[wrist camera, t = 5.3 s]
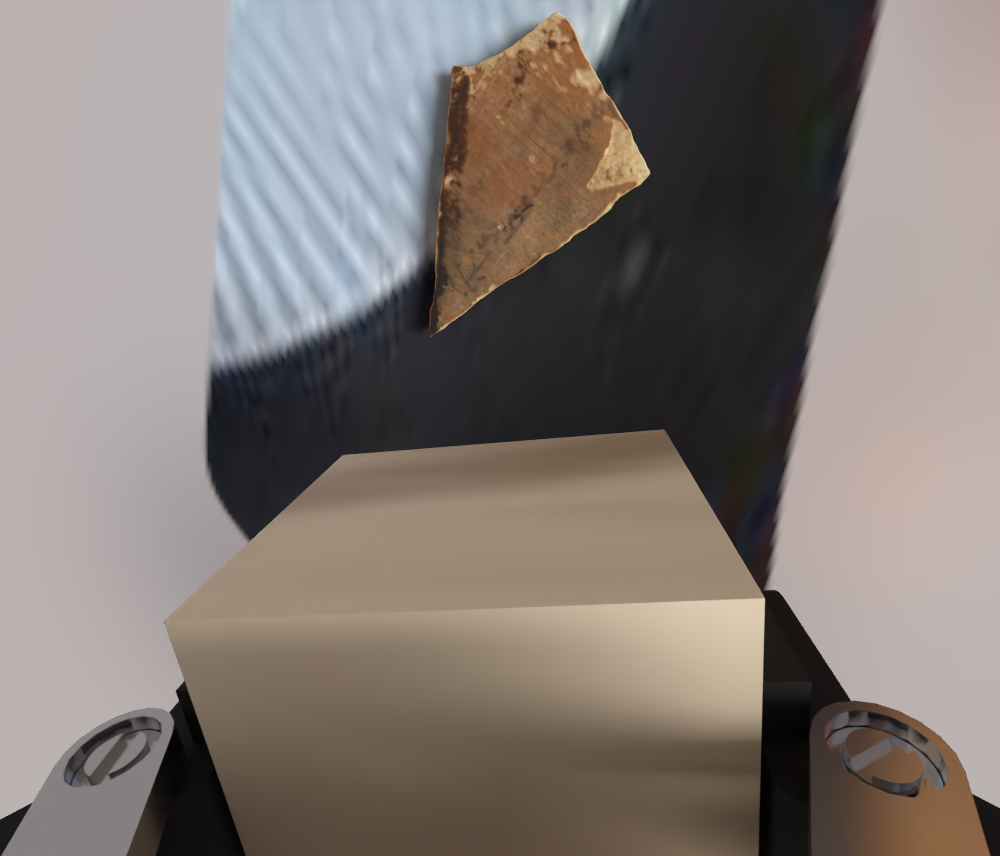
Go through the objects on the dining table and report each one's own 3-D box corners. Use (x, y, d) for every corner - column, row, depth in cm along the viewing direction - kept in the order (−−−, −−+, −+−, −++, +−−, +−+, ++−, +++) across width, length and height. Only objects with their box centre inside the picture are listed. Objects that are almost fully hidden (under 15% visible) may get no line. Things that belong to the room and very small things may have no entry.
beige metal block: (343, 455, 10) (164, 621, 6) (664, 429, 10) (765, 598, 5) (397, 706, 12) (293, 993, 7) (673, 702, 11) (754, 1020, 7)
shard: (437, 332, 25) (428, 338, 23) (332, 181, 23) (314, 175, 21) (651, 184, 22) (659, 177, 20) (548, 2, 21) (548, -22, 19)
